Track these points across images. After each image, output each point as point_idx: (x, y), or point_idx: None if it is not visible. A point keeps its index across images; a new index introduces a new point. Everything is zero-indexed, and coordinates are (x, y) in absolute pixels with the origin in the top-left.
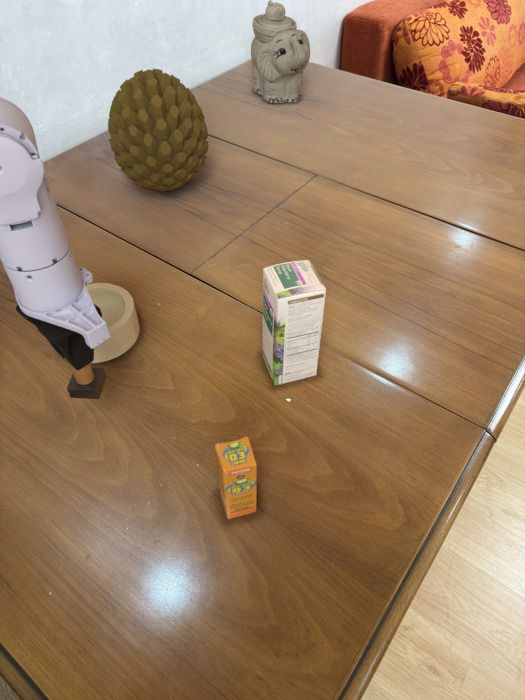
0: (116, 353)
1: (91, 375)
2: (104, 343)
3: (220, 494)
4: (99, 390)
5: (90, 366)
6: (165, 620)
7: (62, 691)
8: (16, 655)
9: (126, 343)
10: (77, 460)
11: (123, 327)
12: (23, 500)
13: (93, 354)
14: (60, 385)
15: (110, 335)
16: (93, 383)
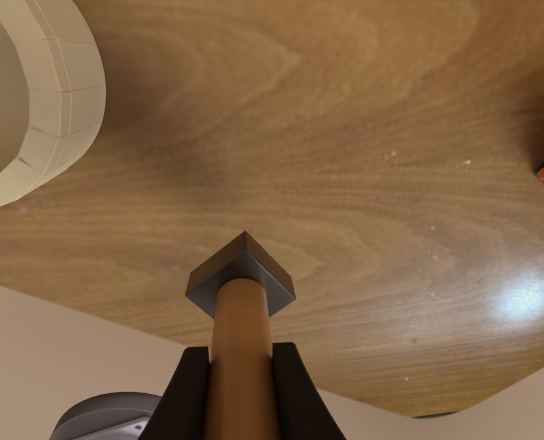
0: (101, 92)
1: (265, 302)
2: (76, 123)
3: (542, 179)
4: (285, 277)
5: (261, 314)
6: (540, 320)
7: (480, 401)
8: (421, 414)
9: (88, 50)
10: None
11: (53, 41)
12: None
13: (301, 361)
14: (109, 232)
15: (66, 100)
16: (273, 292)
